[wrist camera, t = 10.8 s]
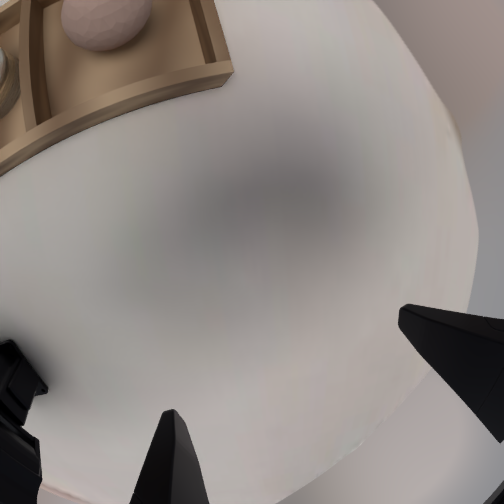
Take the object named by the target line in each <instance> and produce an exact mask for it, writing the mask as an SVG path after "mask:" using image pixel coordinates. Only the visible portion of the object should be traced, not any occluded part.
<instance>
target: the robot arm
mask: <svg viewBox="0 0 504 504" xmlns="http://www.w3.org/2000/svg"><path fill="white" fill-rule="evenodd" d="M398 326H399V328H400V330H401V331H402V332H403V334H404V335H405V336H406V337H407V339H408V340H409V341H410V343H411V344H412V345H413V346H414V348H415V349H416V350H417V352H418V353H419V354H420V355H421V356H422V357H423V358H424V359H425V360H426V361H427V362H428V364H429V365H430V366H431V367H432V368H433V369H434V370H435V371H436V372H437V373H438V374H439V375H440V376H441V377H442V378H443V379H444V380H445V382H446V383H447V384H448V385H449V386H450V387H451V388H452V389H453V390H454V391H455V392H456V394H457V395H458V396H459V397H460V398H461V399H462V400H463V401H464V402H465V404H466V405H467V406H468V407H469V408H470V409H471V410H472V411H473V413H474V414H476V416H477V417H478V418H479V420H480V421H481V422H482V423H483V424H484V425H485V427H486V428H487V429H488V430H489V431H490V433H491V434H492V435H493V436H494V437H495V439H496V440H497V441H498V442H499V443H501V442H502V441H503V440H504V319H497V318H490V317H483V316H477V315H471V314H465V313H459V312H453V311H448V310H442V309H436V308H430V307H425V306H419V305H413V304H406V305H404V306H403V307H401V308H400V310H399V318H398ZM47 393H48V387H47V386H46V385H45V384H44V382H43V381H42V380H41V379H40V378H39V376H38V375H37V374H36V372H35V371H34V370H33V369H32V367H31V366H30V365H29V363H28V362H27V360H26V359H25V358H24V356H23V355H22V353H21V352H20V351H19V349H18V348H17V346H16V345H15V343H14V342H13V341H11V340H7V341H5V342H2V343H0V504H37V494H38V490H39V487H40V484H41V482H42V469H41V459H40V445H39V440H38V439H37V438H36V437H33V436H32V435H31V434H29V433H28V432H27V431H26V430H24V429H23V428H22V426H24V424H25V421H26V417H27V414H28V411H29V410H30V408H31V405H32V402H33V398H34V396H37V395H43V394H47ZM129 504H209V501H208V497H207V493H206V489H205V485H204V481H203V477H202V473H201V469H200V465H199V461H198V458H197V455H196V452H195V450H194V447H193V444H192V441H191V438H190V435H189V432H188V429H187V426H186V423H185V422H184V420H183V419H182V418H181V416H180V415H179V414H178V413H177V411H176V410H174V409H171V410H167V411H164V412H163V413H162V415H161V418H160V421H159V423H158V426H157V429H156V431H155V434H154V437H153V439H152V442H151V445H150V448H149V450H148V453H147V456H146V459H145V461H144V464H143V467H142V470H141V472H140V475H139V478H138V481H137V484H136V487H135V489H134V493H133V495H132V498H131V501H130V503H129ZM483 504H504V481H503V482H502V483H501V485H500V486H499V487H498V488H497V489H496V490H495V491H494V492H493V494H492V495H491V496H490V497H489V498H488V499H487V500H486V501H485V502H484V503H483Z"/></svg>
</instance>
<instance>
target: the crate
mask: <svg viewBox="0 0 504 504" xmlns="http://www.w3.org/2000/svg"><path fill="white" fill-rule="evenodd" d="M63 2H64V0H10V1H8V2H7V3H5V4H4V5H2V6H1V7H0V47H1V48H2V49H4V50H5V51H7V52H8V53H10V54H11V55H12V56H13V57H14V58H16V59H18V60H19V78H20V91H21V94H20V97H19V99H18V100H17V102H16V104H15V105H14V107H13V108H12V109H11V110H10V111H9V113H8V114H6V115H5V116H4V117H3V118H1V119H0V177H1V176H2V175H4V174H5V173H7V172H8V171H10V170H11V169H13V168H14V167H16V166H17V165H19V164H21V163H22V162H24V161H26V160H27V159H29V158H31V157H32V156H34V155H36V154H38V153H39V152H41V151H43V150H45V149H47V148H49V147H50V146H52V145H54V144H56V143H58V142H60V141H62V140H64V139H66V138H68V137H70V136H72V135H74V134H77V133H79V132H81V131H83V130H85V129H88V128H90V127H92V126H95V125H97V124H99V123H102V122H104V121H107V120H109V119H112V118H114V117H117V116H120V115H122V114H125V113H128V112H131V111H133V110H136V109H139V108H142V107H145V106H148V105H152V104H155V103H158V102H161V101H165V100H168V99H172V98H175V97H179V96H183V95H187V94H191V93H195V92H199V91H204V90H208V89H213V88H218V87H222V85H223V84H224V83H225V82H226V81H227V79H228V78H229V77H230V76H231V75H232V73H233V72H234V70H233V66H232V63H231V59H230V55H229V52H228V48H227V45H226V41H225V38H224V34H223V31H222V27H221V24H220V20H219V17H218V13H217V10H216V7H215V3H214V0H152V8H151V12H150V16H149V18H148V20H147V21H146V23H145V25H144V27H143V28H142V29H141V31H140V32H139V33H138V34H137V35H136V36H135V37H134V38H133V39H131V40H130V41H128V42H127V43H125V44H124V45H122V46H119V47H117V48H115V49H111V50H107V51H90V50H86V49H83V48H81V47H79V46H77V45H75V44H74V43H73V42H72V41H71V40H70V39H69V38H68V36H67V35H66V33H65V31H64V29H63V26H62V21H61V11H62V6H63Z"/></svg>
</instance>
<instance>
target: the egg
mask: <svg viewBox="0 0 504 504" xmlns="http://www.w3.org/2000/svg"><path fill="white" fill-rule="evenodd" d="M151 8H152V0H64V2H63V6H62V11H61V21H62V26H63V29H64V31H65V33H66V35H67V36H68V38H69V39H70V40H71V41H72V42H73V43H74V44H75V45H77V46H79V47H81V48H83V49H86V50H90V51H107V50H111V49H115V48H117V47H119V46H122V45H124V44H125V43H127V42H128V41H130V40H131V39H133V38H134V37H135V36H136V35H137V34H138V33H139V32H140V31H141V29H142V28H143V27H144V25H145V23H146V21H147V20H148V18H149V16H150V12H151Z"/></svg>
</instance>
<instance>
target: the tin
mask: <svg viewBox="0 0 504 504" xmlns="http://www.w3.org/2000/svg"><path fill="white" fill-rule="evenodd" d="M20 94H21V91H20V78H19V60H18V59H16V58H14V57H13V56H12V55H11V54H10V53H8V52H7V51H5V50H4V49H2V48H1V47H0V119H1V118H3V117H4V116H5V115H6V114H8V113H9V111H10V110H11V109H12V108H13V107H14V105H15V104H16V102H17V100H18V99H19V97H20Z"/></svg>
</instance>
